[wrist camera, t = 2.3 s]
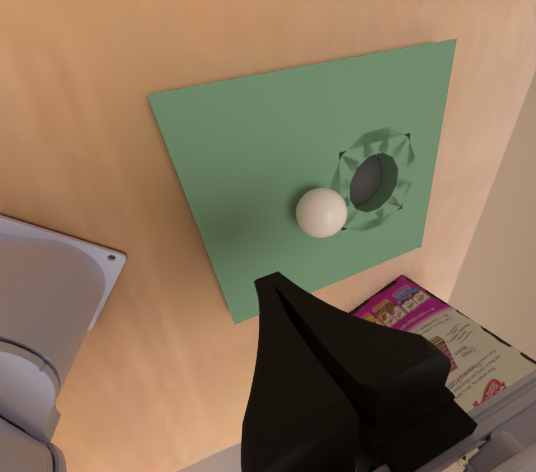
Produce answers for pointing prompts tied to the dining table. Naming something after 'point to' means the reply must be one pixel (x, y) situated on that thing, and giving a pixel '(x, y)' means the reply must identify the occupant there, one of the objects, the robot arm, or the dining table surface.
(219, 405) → the dining table surface
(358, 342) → the robot arm
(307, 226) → the ball
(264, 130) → the putting mat
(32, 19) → the dining table surface
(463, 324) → the candy bar box
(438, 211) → the dining table surface
